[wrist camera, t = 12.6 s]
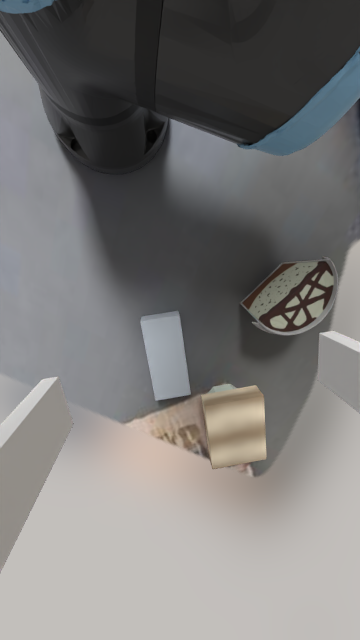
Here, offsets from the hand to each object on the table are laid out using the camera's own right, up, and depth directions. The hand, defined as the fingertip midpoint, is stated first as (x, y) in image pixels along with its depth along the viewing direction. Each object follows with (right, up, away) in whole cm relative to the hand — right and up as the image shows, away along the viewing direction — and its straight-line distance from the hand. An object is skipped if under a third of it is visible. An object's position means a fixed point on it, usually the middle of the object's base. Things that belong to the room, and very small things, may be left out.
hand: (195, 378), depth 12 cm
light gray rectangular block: (-3, -3, +28) cm, 29 cm away
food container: (+15, +7, +28) cm, 32 cm away
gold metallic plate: (+8, -14, +27) cm, 32 cm away
